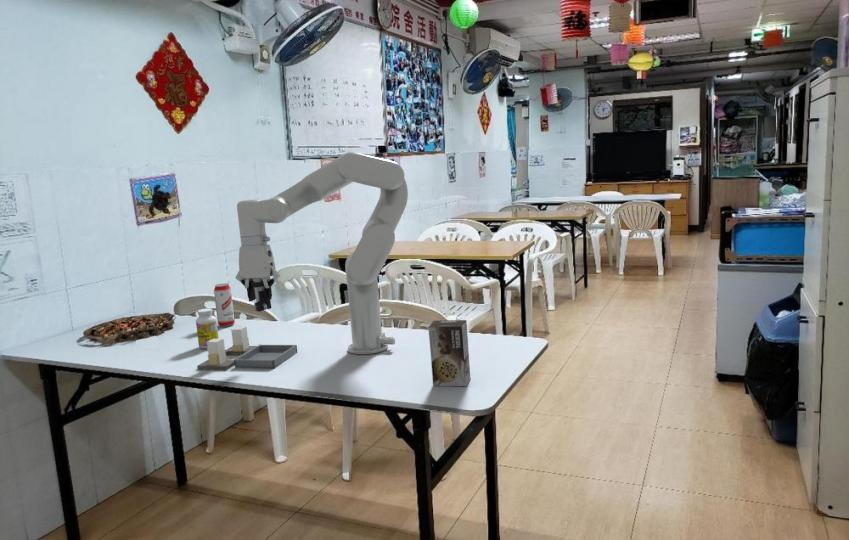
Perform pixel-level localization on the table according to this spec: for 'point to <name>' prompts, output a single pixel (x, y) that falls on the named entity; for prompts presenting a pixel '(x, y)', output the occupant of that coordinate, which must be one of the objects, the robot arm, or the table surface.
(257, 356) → the tray
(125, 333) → the food dish
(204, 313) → the supplement bottle
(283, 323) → the table surface
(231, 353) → the block
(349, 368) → the table surface
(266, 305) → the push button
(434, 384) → the printed cardboard box
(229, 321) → the beer can
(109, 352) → the table surface
